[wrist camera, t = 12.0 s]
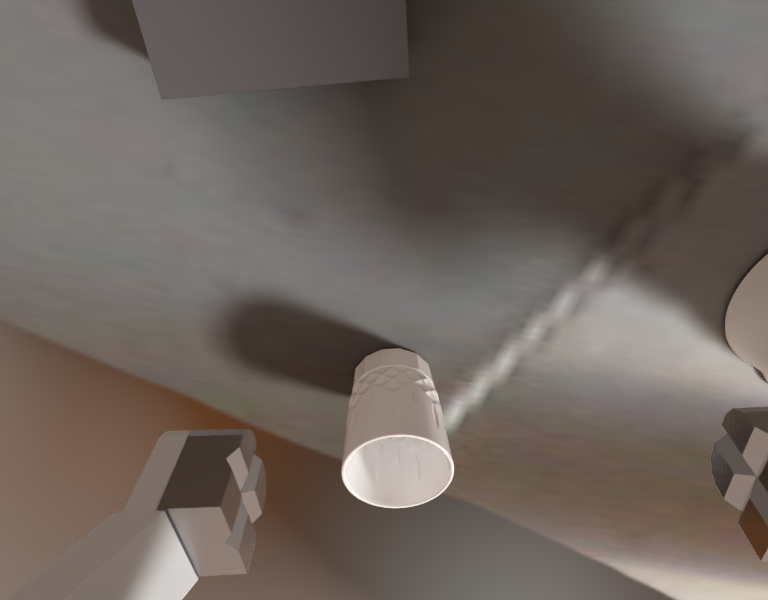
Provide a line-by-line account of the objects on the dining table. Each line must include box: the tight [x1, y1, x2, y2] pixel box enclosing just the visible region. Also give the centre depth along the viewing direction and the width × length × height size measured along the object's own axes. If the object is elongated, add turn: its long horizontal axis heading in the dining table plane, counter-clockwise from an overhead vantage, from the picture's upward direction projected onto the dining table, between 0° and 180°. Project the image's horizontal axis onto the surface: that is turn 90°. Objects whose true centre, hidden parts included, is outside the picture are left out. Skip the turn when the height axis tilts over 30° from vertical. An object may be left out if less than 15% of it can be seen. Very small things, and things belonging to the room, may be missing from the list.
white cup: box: [342, 348, 454, 508], centre depth 41 cm, size 8×8×10 cm
